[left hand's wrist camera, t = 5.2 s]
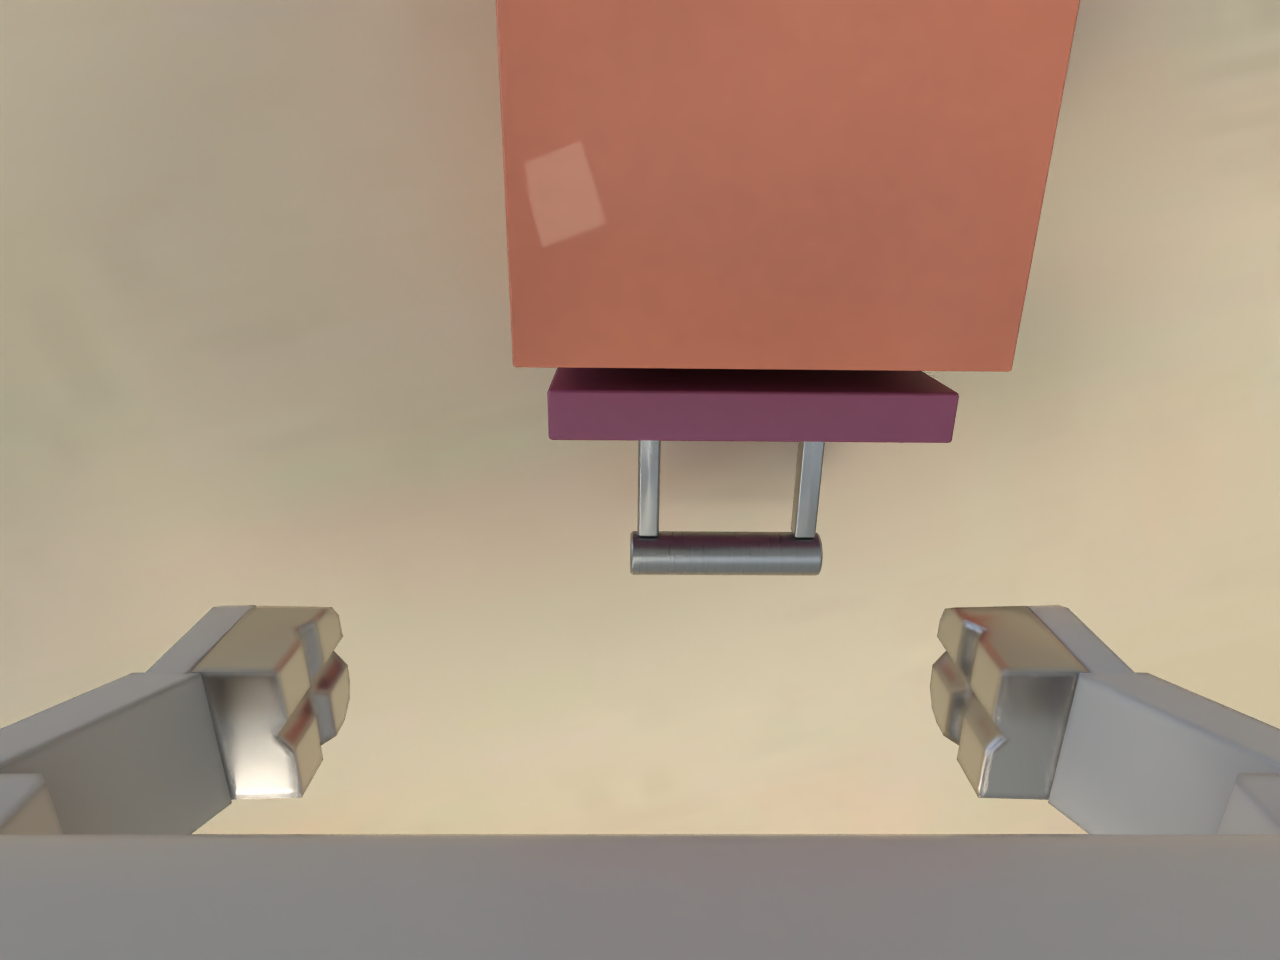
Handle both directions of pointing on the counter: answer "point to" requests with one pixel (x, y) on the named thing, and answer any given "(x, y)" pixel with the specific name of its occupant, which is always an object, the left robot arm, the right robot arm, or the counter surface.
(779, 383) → the drawer
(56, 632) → the counter surface
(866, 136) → the cabinet
